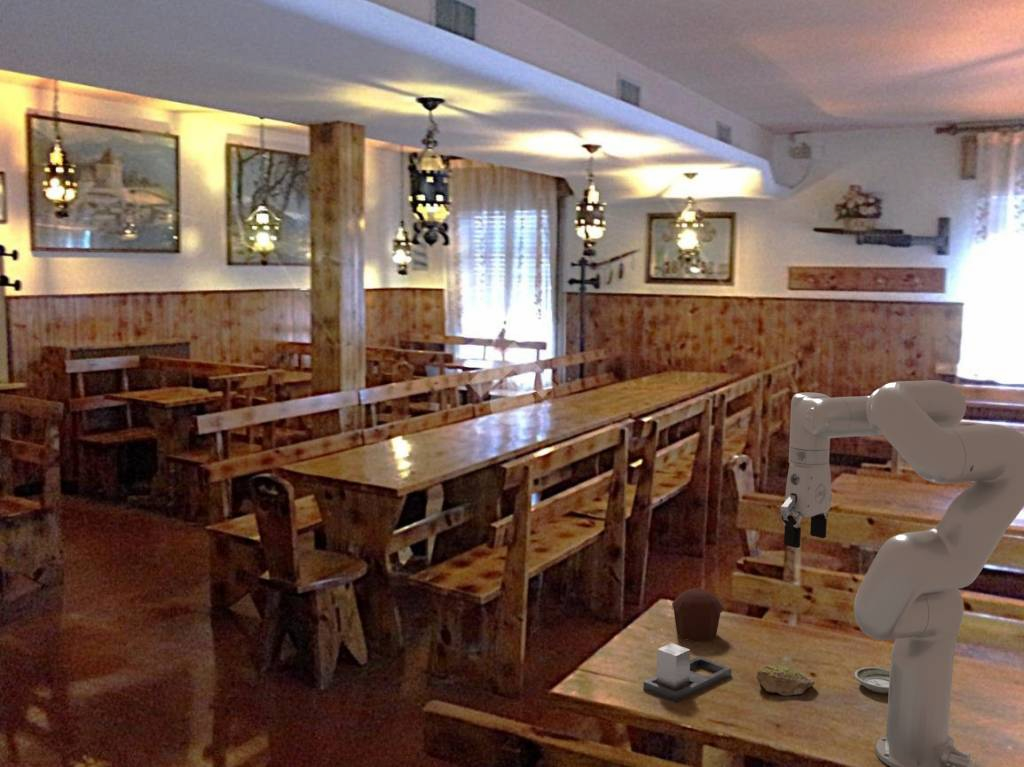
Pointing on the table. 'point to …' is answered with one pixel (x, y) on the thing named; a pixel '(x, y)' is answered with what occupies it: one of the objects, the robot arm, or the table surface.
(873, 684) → the saucer
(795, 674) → the rock
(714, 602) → the muffin
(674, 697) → the dark grey slotted tray
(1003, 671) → the table surface
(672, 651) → the silver rectangular block
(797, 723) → the table surface
